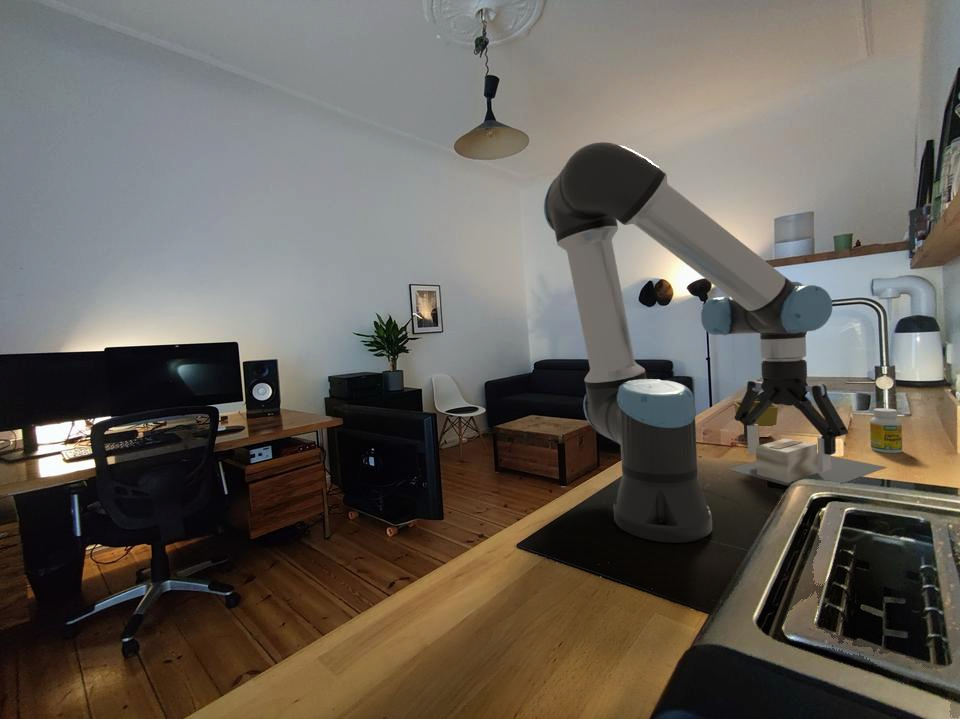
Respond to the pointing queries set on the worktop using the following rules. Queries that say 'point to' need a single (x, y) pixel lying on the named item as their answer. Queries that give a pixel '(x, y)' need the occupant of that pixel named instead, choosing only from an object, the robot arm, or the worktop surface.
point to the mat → (839, 471)
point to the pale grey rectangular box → (787, 460)
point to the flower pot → (767, 417)
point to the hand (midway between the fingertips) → (786, 461)
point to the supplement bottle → (886, 431)
